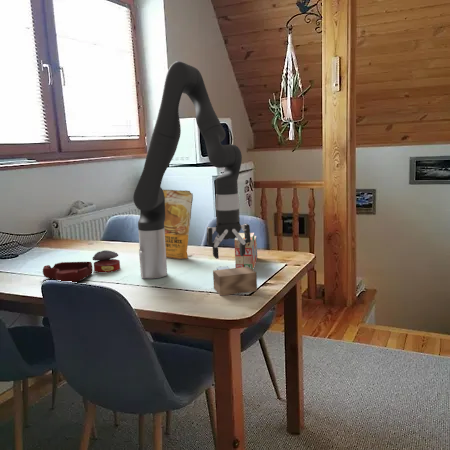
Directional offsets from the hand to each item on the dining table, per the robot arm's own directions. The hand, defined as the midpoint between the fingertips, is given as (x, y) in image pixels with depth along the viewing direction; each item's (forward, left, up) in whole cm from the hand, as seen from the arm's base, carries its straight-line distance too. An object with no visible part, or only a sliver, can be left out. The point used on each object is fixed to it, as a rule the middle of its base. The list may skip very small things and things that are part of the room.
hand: (229, 256), depth 160 cm
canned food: (-38, +40, -10) cm, 56 cm away
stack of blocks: (+14, +24, -10) cm, 29 cm away
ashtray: (-51, +32, -10) cm, 61 cm away
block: (0, +1, -8) cm, 8 cm away
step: (0, -5, -10) cm, 11 cm away
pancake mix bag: (-10, +50, -10) cm, 52 cm away
